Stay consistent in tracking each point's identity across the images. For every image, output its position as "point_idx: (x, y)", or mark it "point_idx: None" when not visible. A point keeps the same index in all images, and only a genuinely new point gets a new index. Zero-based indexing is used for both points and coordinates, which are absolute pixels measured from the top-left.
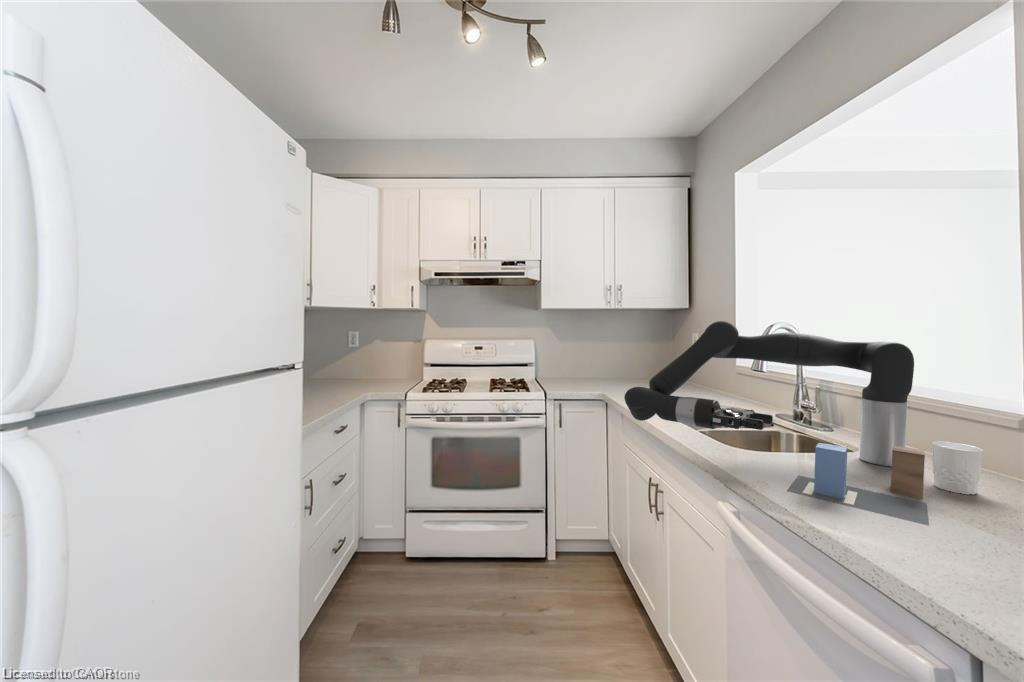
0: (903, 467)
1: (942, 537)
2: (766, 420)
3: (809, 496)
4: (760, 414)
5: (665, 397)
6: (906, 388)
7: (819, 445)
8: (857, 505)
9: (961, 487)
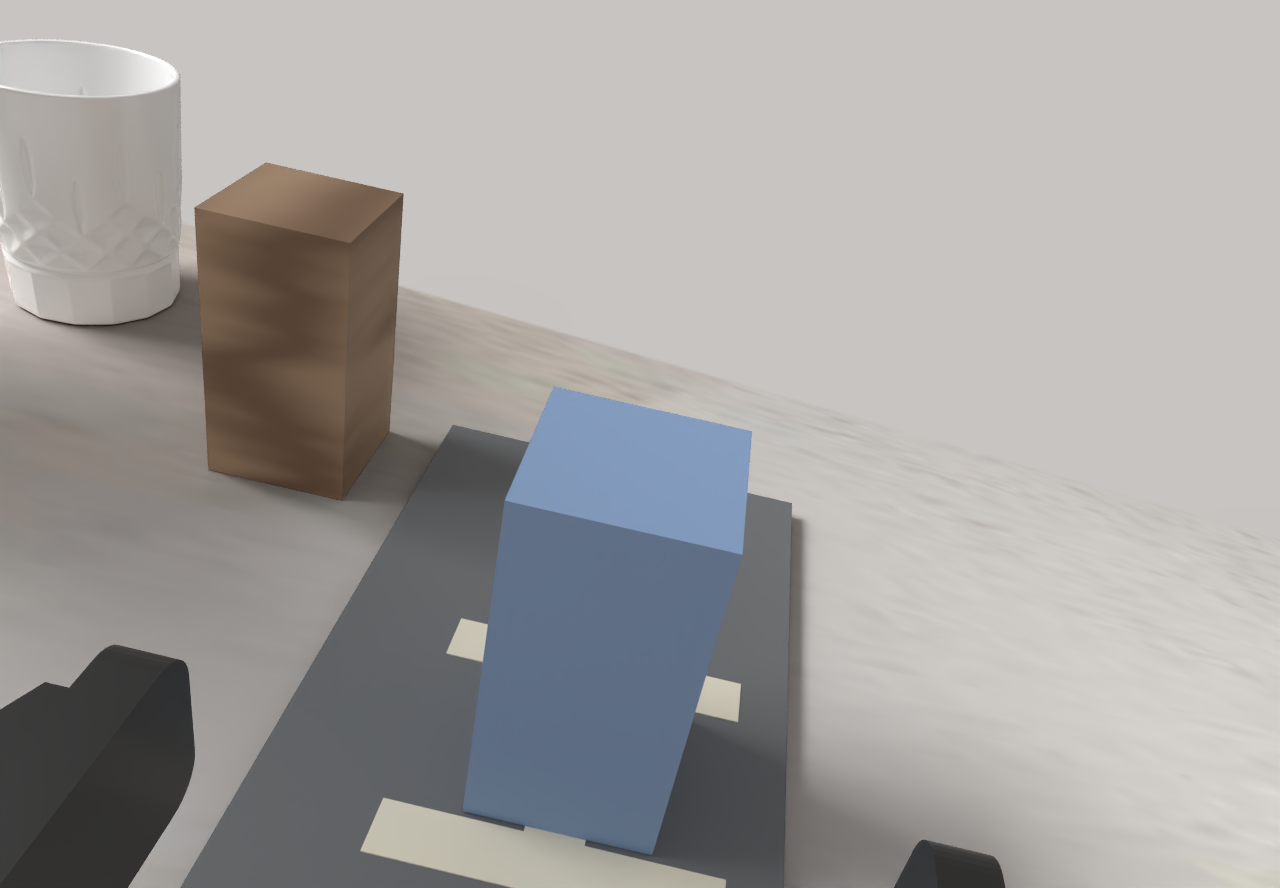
0: (366, 317)
1: (850, 508)
2: (136, 819)
3: None
4: (34, 853)
5: None
6: None
7: (640, 518)
8: (735, 670)
9: (174, 271)
